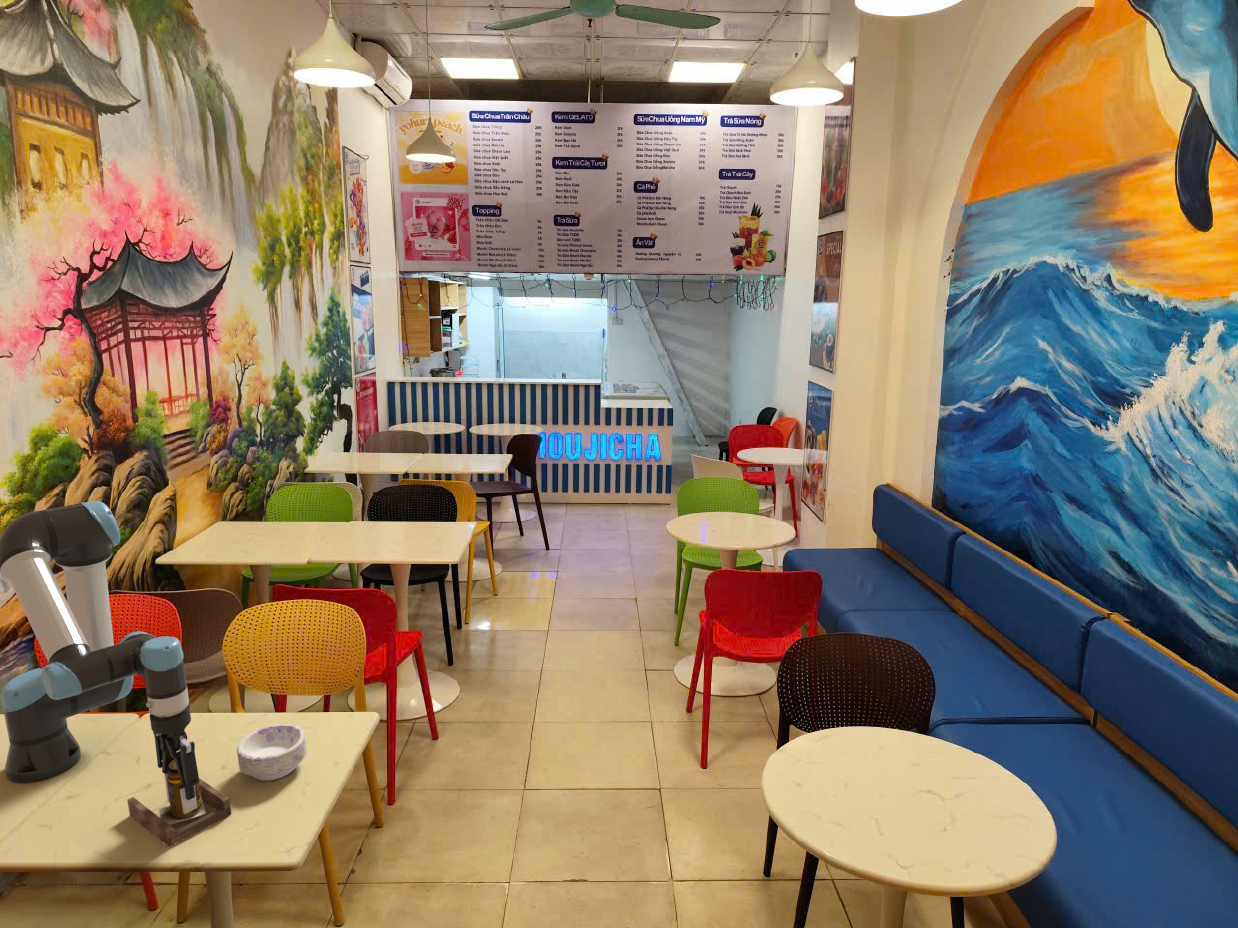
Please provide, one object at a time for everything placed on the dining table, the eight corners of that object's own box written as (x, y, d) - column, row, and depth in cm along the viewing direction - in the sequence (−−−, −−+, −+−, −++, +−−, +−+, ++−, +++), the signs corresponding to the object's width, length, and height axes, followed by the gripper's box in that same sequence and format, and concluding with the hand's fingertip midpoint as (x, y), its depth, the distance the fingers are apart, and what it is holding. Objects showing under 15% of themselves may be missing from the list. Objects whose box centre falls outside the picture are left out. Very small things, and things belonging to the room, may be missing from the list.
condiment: (206, 813, 180) (200, 765, 177) (162, 828, 175) (155, 778, 172) (201, 796, 185) (195, 749, 183) (158, 810, 181) (151, 761, 178)
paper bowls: (235, 793, 189) (231, 762, 187) (245, 757, 203) (242, 728, 201) (305, 782, 193) (302, 752, 191) (310, 747, 207) (308, 719, 205)
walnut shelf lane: (129, 815, 181) (127, 799, 180) (190, 785, 192) (188, 770, 191) (169, 847, 171) (166, 830, 170) (231, 814, 181) (229, 798, 180)
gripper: (130, 702, 177) (144, 797, 182) (173, 730, 166) (186, 830, 171) (165, 688, 183) (178, 780, 188) (209, 715, 172) (221, 812, 177)
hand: (182, 804), depth 179 cm, fingers closed on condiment, 6 cm apart
